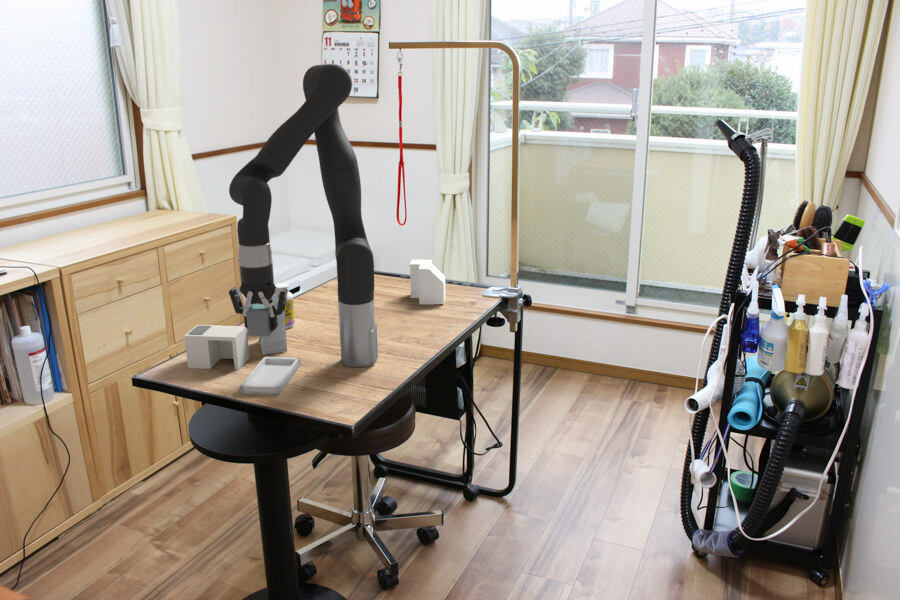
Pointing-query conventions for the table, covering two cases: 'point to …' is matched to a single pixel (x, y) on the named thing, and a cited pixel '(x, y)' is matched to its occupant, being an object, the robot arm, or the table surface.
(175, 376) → the table surface
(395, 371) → the table surface
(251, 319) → the slab with teal patch
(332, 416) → the table surface
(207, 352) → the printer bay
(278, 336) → the light bulb box
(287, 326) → the supplement bottle
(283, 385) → the tray
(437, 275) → the corner bracket
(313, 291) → the table surface
